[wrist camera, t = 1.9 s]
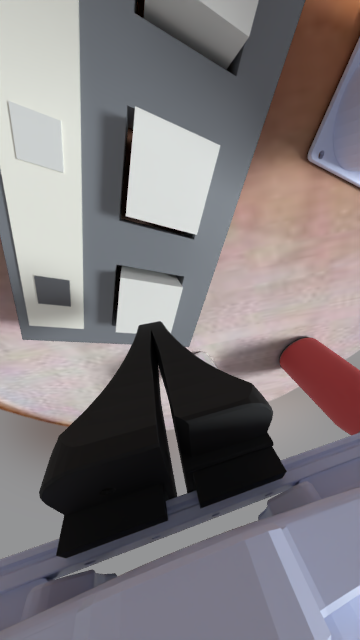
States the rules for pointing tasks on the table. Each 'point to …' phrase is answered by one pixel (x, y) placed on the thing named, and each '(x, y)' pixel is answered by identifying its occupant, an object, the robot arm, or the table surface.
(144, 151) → the key middle
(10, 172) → the button board
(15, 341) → the table surface
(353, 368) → the beer can
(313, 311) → the table surface
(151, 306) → the key
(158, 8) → the key
